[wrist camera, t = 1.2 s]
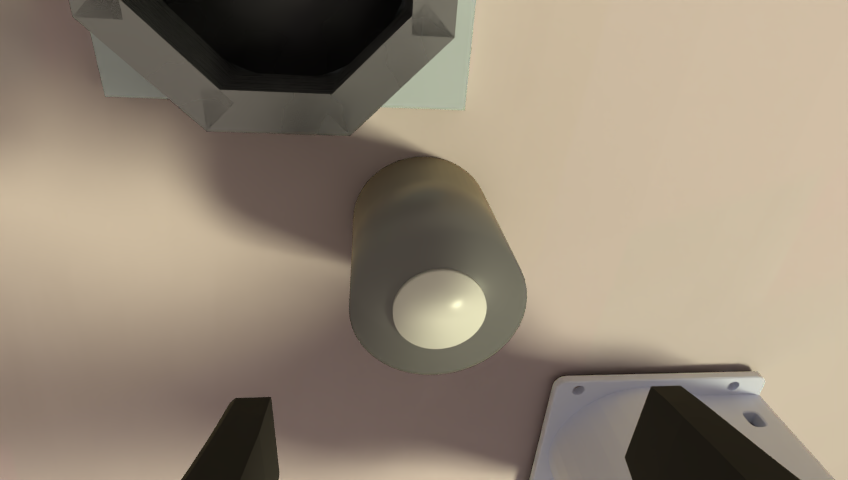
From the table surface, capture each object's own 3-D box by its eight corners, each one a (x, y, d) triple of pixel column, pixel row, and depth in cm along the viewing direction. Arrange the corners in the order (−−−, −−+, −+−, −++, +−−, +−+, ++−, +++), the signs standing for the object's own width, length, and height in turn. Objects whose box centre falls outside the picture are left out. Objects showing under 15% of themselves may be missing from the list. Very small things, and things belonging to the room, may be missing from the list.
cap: (495, 158, 17) (543, 233, 12) (479, 277, 19) (514, 378, 14) (353, 154, 16) (347, 232, 12) (353, 277, 18) (349, 381, 14)
